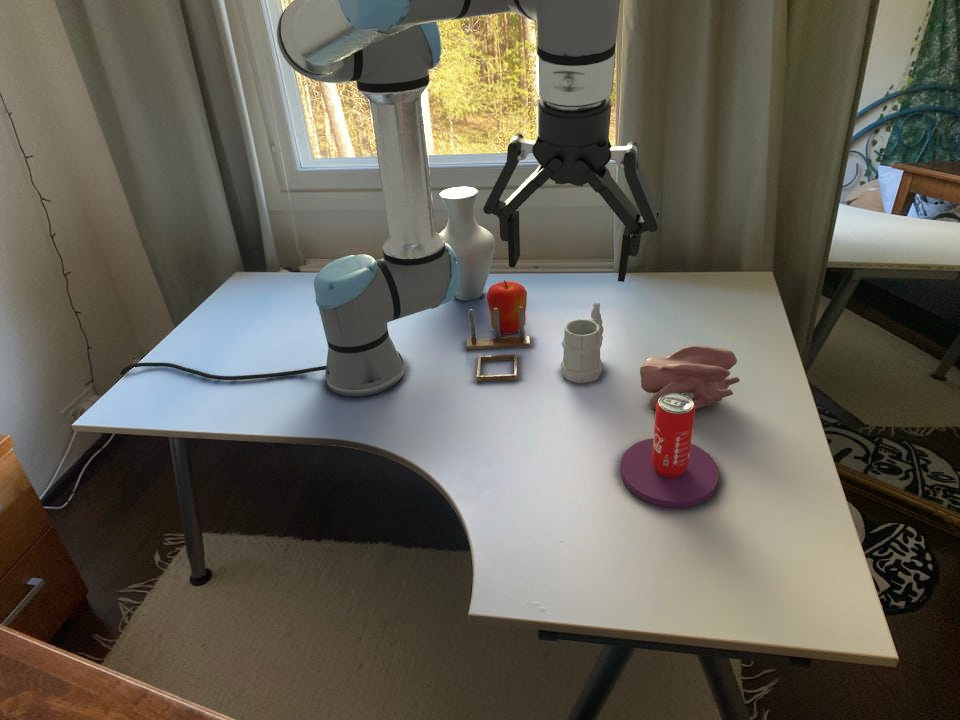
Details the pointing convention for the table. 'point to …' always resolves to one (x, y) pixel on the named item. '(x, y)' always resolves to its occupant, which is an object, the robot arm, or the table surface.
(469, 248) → the vase
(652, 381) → the figurine
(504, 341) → the rack
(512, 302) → the apple
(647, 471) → the lid
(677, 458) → the beverage can
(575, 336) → the mug
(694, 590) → the table surface
